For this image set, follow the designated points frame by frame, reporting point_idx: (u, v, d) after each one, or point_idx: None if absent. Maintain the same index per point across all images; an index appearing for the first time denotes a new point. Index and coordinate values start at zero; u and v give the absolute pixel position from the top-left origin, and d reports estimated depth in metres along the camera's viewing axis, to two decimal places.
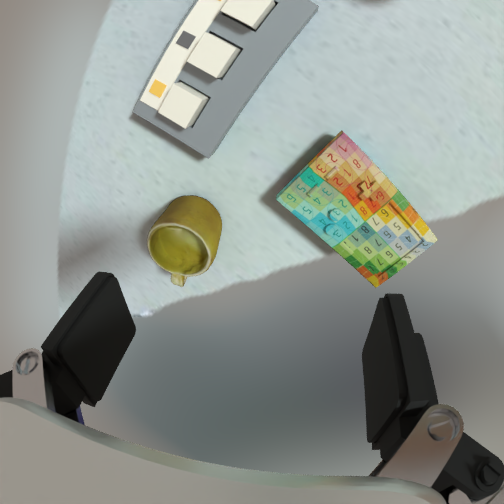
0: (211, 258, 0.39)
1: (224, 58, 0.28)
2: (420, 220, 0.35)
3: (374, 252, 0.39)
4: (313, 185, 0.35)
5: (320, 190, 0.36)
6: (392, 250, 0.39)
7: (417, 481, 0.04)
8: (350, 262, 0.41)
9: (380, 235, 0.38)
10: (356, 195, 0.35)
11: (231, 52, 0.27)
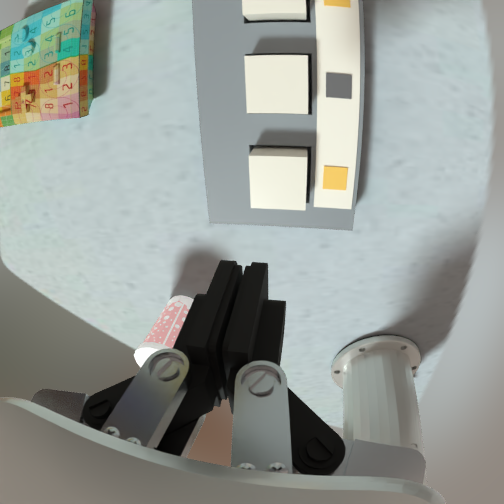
0: None
1: (252, 89, 0.18)
2: None
3: None
4: (61, 46, 0.18)
5: (53, 49, 0.18)
6: None
7: (273, 438, 0.05)
8: None
9: None
10: (29, 82, 0.20)
11: (248, 103, 0.18)
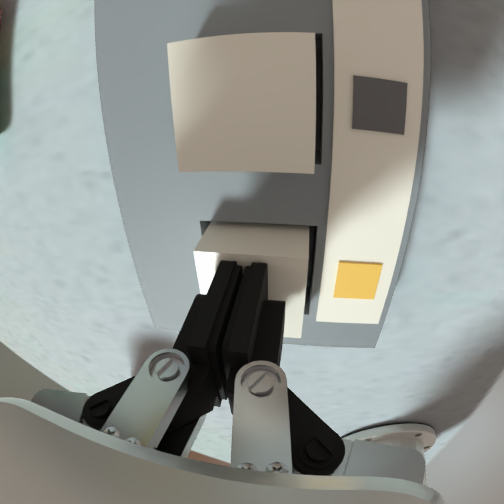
0: None
1: (186, 119, 0.08)
2: None
3: None
4: None
5: None
6: None
7: (272, 439, 0.05)
8: None
9: None
10: None
11: (181, 151, 0.09)
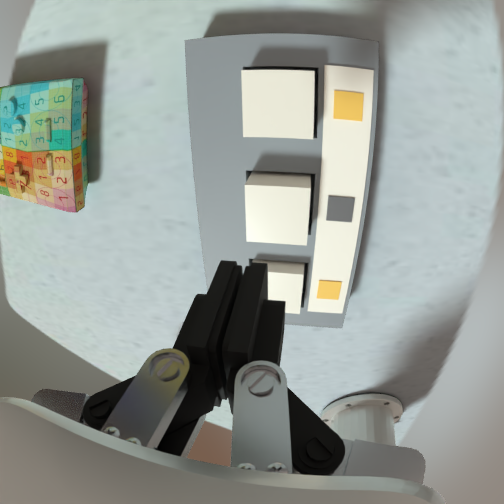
0: None
1: (252, 219, 0.20)
2: None
3: None
4: (52, 135, 0.20)
5: (44, 136, 0.20)
6: None
7: (272, 439, 0.05)
8: None
9: None
10: (22, 162, 0.21)
11: (248, 232, 0.20)
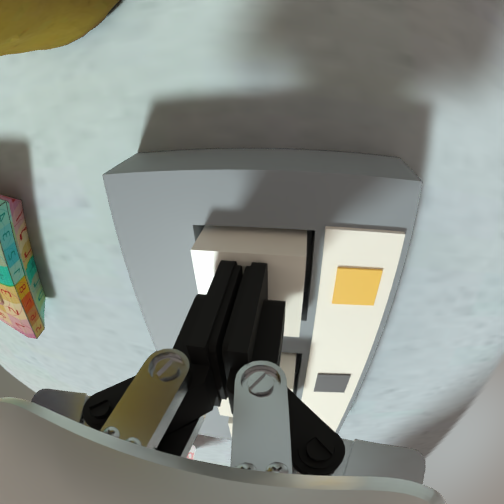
0: None
1: (223, 403, 0.15)
2: None
3: None
4: None
5: None
6: None
7: (273, 438, 0.05)
8: None
9: None
10: None
11: (221, 410, 0.16)
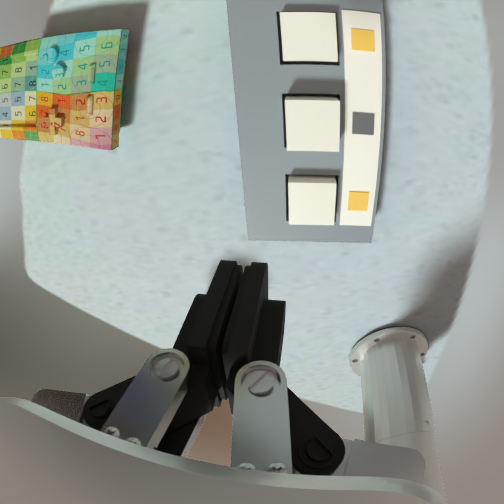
0: None
1: (291, 130, 0.21)
2: (11, 137, 0.25)
3: (12, 74, 0.21)
4: (96, 77, 0.21)
5: (87, 79, 0.21)
6: (5, 91, 0.22)
7: (272, 439, 0.05)
8: (20, 44, 0.19)
9: (20, 92, 0.22)
10: (58, 105, 0.23)
11: (288, 142, 0.22)
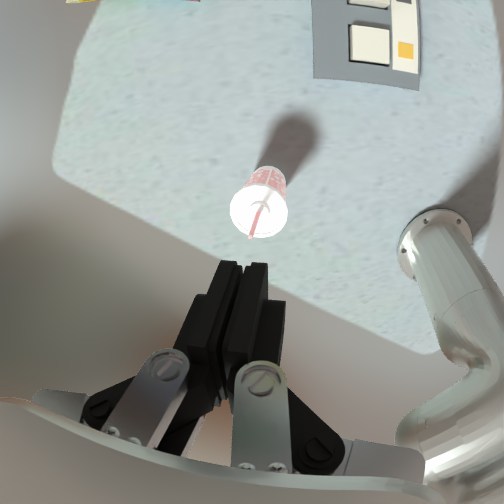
0: None
1: None
2: None
3: None
4: None
5: None
6: None
7: (272, 439, 0.05)
8: None
9: None
10: None
11: None
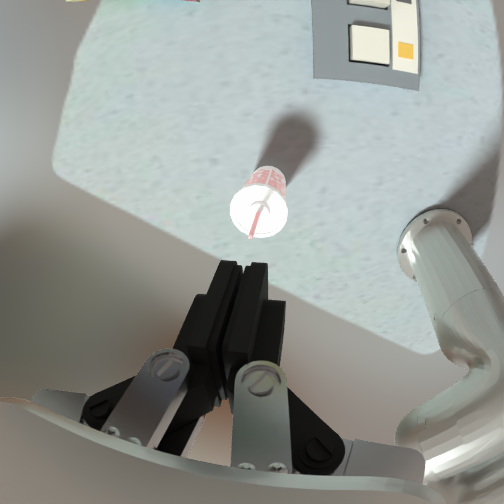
0: None
1: None
2: None
3: None
4: None
5: None
6: None
7: (272, 439, 0.05)
8: None
9: None
10: None
11: None
